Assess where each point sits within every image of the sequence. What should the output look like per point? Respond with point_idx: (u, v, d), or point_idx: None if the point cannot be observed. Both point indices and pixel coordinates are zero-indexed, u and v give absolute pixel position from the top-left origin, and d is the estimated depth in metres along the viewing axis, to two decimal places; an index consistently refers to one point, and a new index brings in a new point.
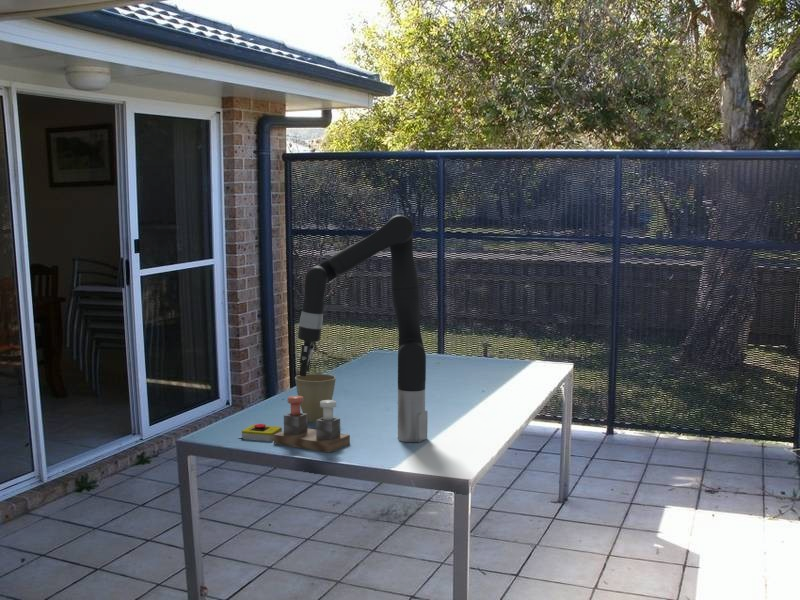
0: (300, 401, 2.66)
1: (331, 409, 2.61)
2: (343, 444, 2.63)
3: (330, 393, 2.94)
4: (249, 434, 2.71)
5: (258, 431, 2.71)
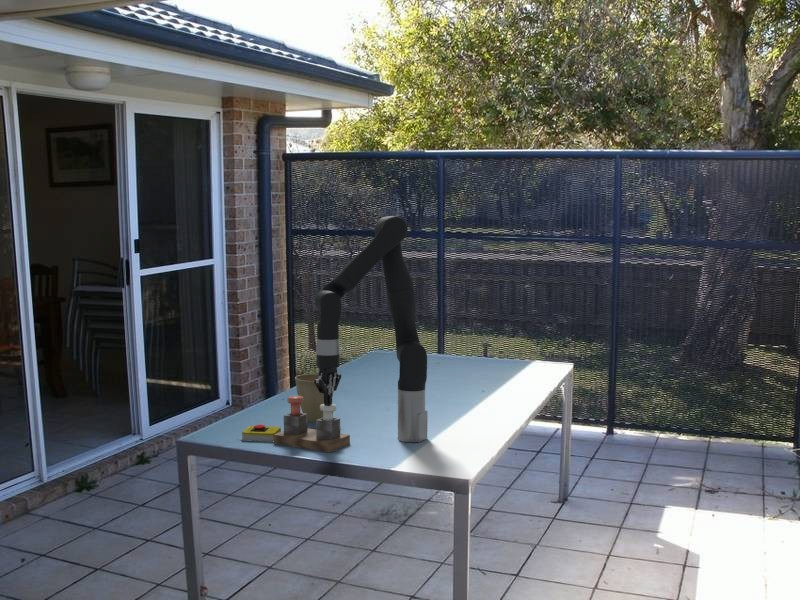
0: (300, 401, 2.66)
1: (331, 413, 2.61)
2: (343, 444, 2.63)
3: None
4: (250, 435, 2.70)
5: (259, 432, 2.70)
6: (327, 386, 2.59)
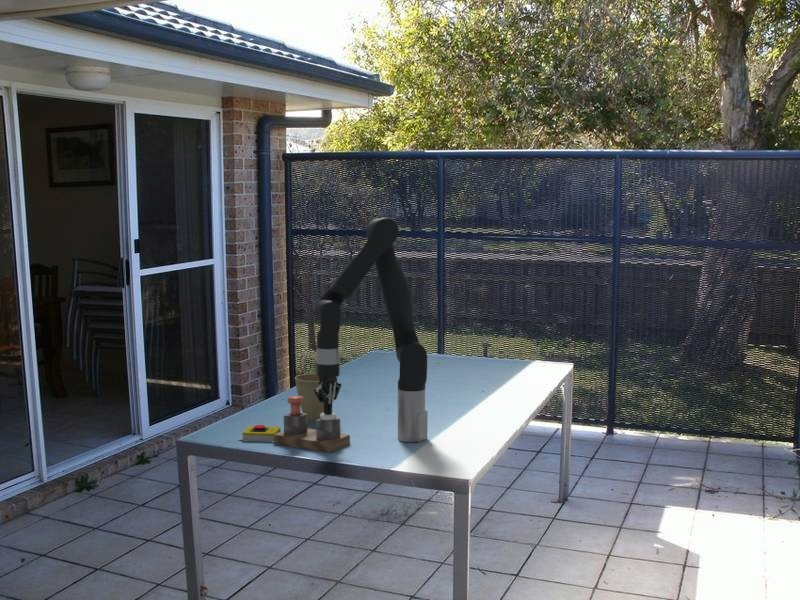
0: (300, 401, 2.66)
1: None
2: (343, 444, 2.63)
3: None
4: (251, 436, 2.69)
5: (260, 432, 2.70)
6: (327, 395, 2.60)
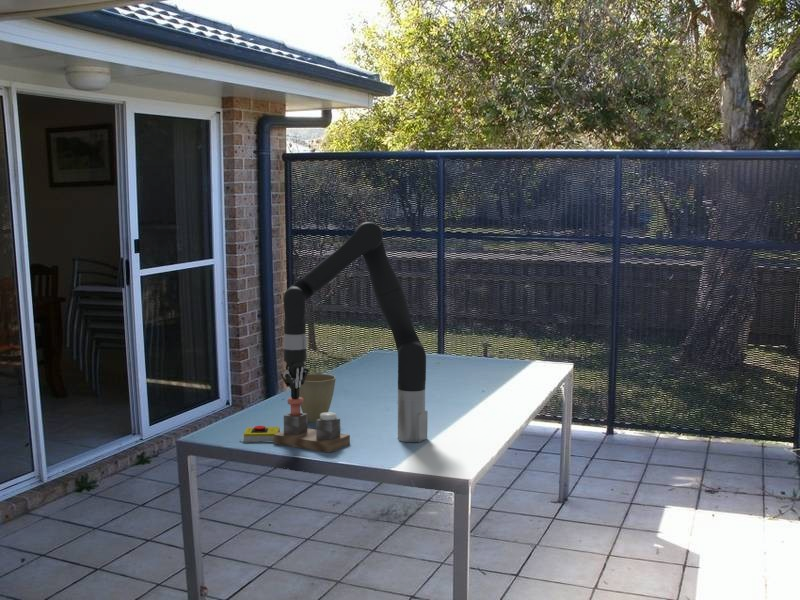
0: (300, 402, 2.66)
1: None
2: (343, 444, 2.63)
3: (330, 393, 2.94)
4: (253, 437, 2.68)
5: (261, 433, 2.69)
6: (294, 380, 2.66)
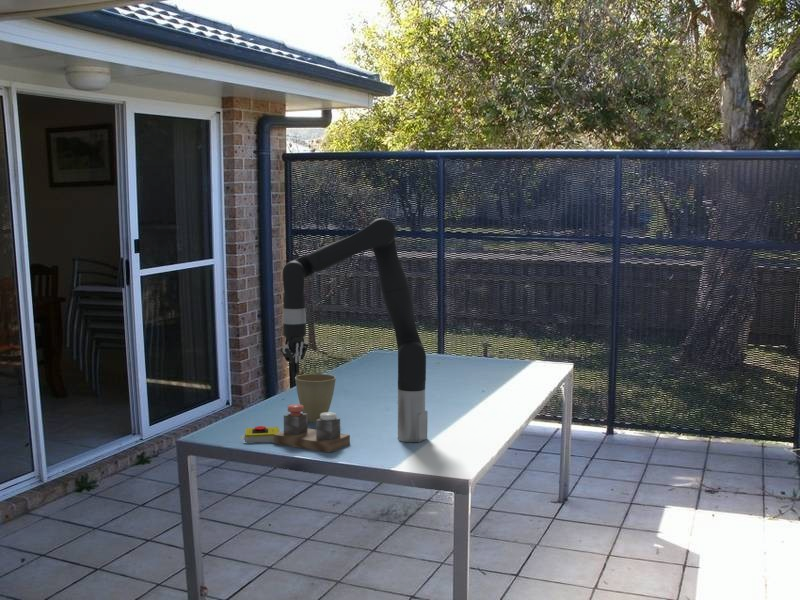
0: (300, 410, 2.67)
1: None
2: (343, 444, 2.63)
3: (330, 393, 2.94)
4: (255, 437, 2.67)
5: (263, 433, 2.69)
6: (294, 355, 2.65)
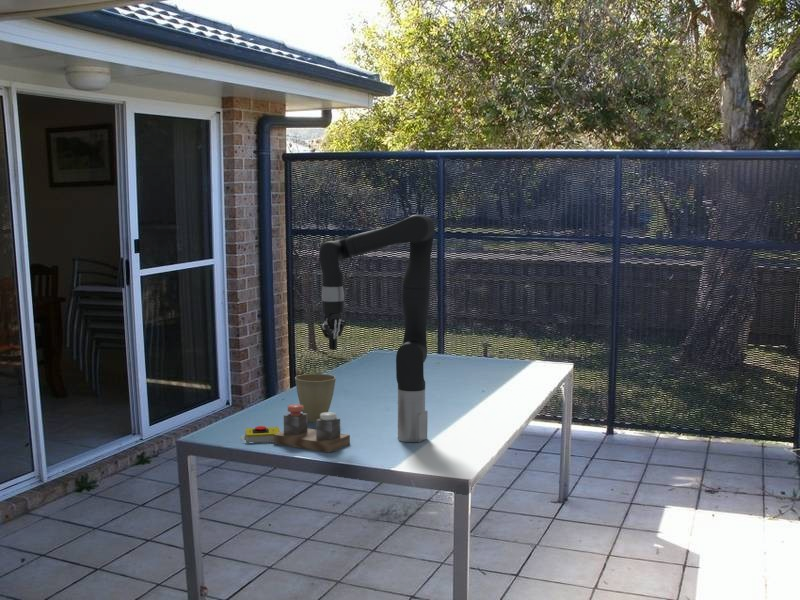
0: (300, 410, 2.67)
1: None
2: (343, 444, 2.63)
3: (330, 393, 2.94)
4: (256, 437, 2.67)
5: (264, 433, 2.69)
6: (332, 331, 2.76)
